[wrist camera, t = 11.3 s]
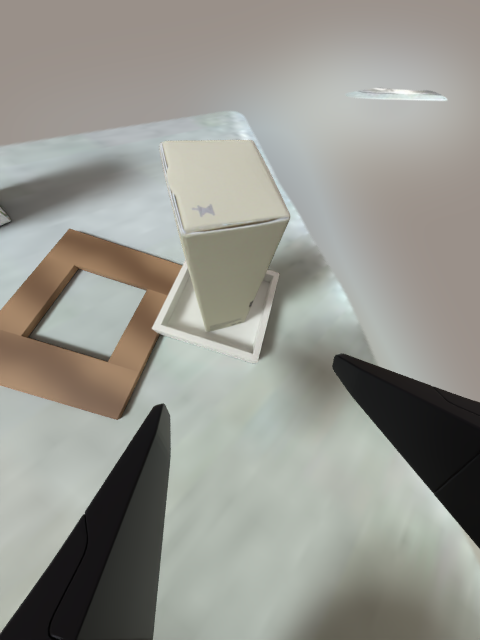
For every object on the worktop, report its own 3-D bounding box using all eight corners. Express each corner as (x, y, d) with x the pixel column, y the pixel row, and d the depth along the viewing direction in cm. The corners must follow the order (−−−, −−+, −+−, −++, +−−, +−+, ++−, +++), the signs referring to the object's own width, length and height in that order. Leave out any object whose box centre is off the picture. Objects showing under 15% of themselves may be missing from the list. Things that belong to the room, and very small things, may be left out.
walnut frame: (120, 418, 15) (116, 419, 14) (-40, 370, 14) (-51, 370, 14) (189, 270, 20) (188, 267, 20) (73, 232, 20) (69, 228, 19)
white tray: (253, 363, 18) (257, 362, 16) (159, 333, 17) (151, 328, 16) (273, 282, 21) (279, 273, 19) (195, 256, 21) (193, 244, 19)
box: (245, 323, 18) (300, 223, 6) (204, 333, 18) (178, 239, 5) (232, 281, 20) (256, 132, 8) (194, 288, 19) (153, 133, 7)
